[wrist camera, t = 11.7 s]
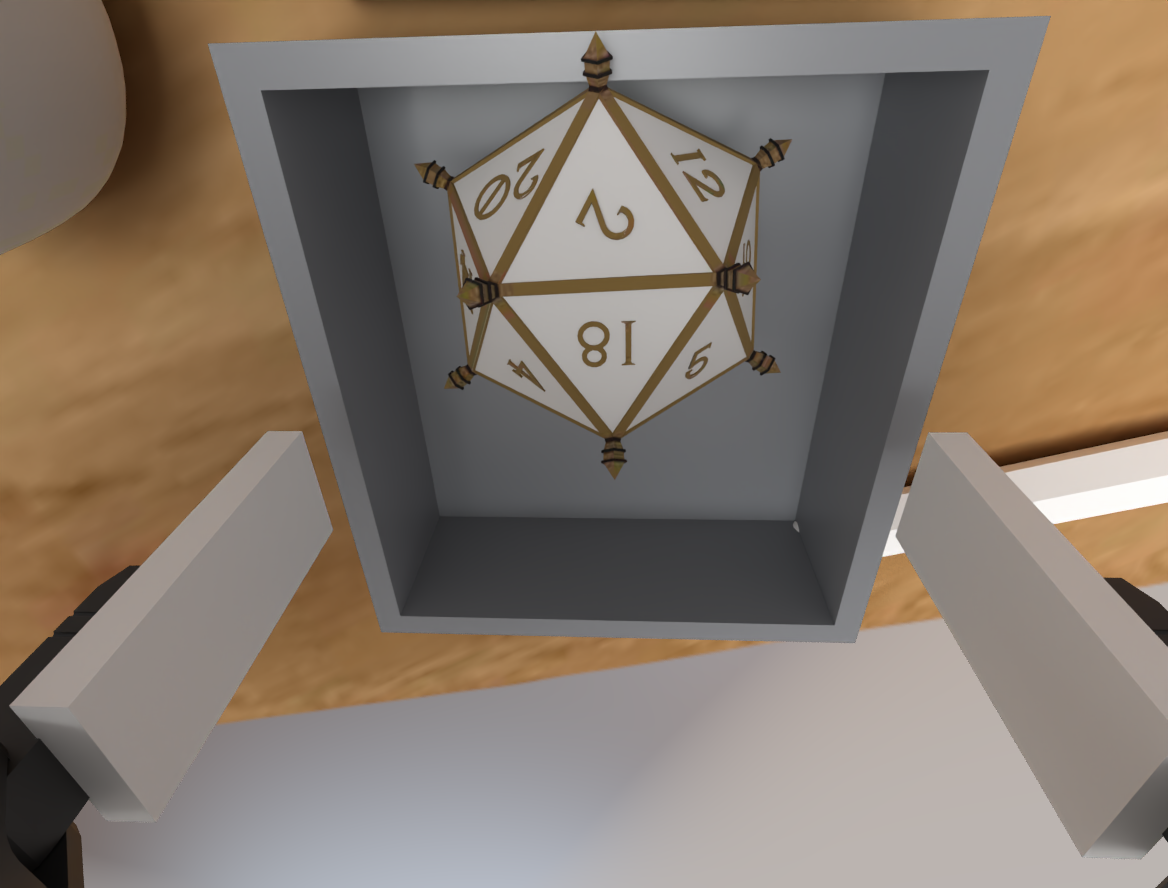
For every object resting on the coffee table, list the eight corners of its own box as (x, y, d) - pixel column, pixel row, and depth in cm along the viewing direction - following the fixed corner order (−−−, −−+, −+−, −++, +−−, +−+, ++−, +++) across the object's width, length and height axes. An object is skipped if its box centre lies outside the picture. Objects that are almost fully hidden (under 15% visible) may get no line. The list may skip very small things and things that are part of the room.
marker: (738, 518, 26) (1185, 423, 22) (750, 567, 26) (1198, 481, 22) (740, 531, 23) (1246, 426, 19) (754, 586, 23) (1262, 491, 19)
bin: (428, 519, 26) (381, 632, 21) (332, 48, 17) (207, 43, 12) (807, 523, 25) (854, 642, 20) (914, 29, 16) (1050, 15, 11)
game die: (577, 384, 22) (341, 479, 14) (562, 124, 20) (260, 67, 12) (837, 410, 17) (693, 573, 10) (865, 70, 15) (696, -87, 7)
